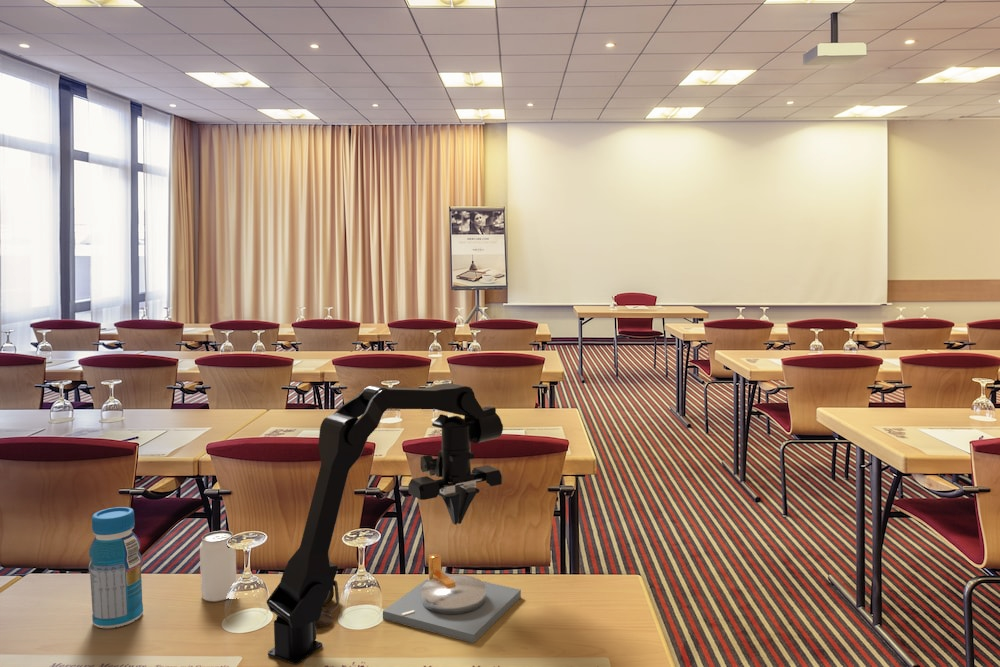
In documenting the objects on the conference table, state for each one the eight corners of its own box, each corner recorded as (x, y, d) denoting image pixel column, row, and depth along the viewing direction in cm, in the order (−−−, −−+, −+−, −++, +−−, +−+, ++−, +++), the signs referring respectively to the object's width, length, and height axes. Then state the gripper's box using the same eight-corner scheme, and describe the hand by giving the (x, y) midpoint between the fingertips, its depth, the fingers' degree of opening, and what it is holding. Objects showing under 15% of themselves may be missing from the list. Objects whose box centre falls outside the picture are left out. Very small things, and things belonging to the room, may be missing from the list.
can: (201, 591, 138) (198, 532, 137) (235, 585, 141) (233, 527, 140) (202, 605, 133) (199, 544, 132) (238, 598, 135) (236, 538, 134)
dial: (497, 602, 130) (497, 573, 129) (441, 620, 123) (440, 589, 123) (458, 574, 142) (458, 547, 141) (404, 589, 135) (404, 561, 135)
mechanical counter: (354, 569, 136) (305, 557, 137) (335, 593, 123) (281, 580, 124) (346, 605, 136) (297, 593, 137) (326, 633, 123) (273, 619, 124)
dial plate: (473, 643, 119) (473, 633, 119) (382, 618, 127) (382, 609, 127) (520, 597, 136) (520, 588, 136) (437, 578, 144) (437, 570, 144)
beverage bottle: (96, 635, 122) (90, 524, 120) (87, 617, 128) (82, 511, 126) (149, 620, 127) (144, 513, 125) (138, 603, 133) (133, 501, 132)
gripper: (475, 433, 150) (475, 504, 151) (395, 445, 140) (396, 521, 141) (503, 443, 141) (504, 519, 142) (420, 457, 130) (422, 538, 132)
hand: (456, 523), depth 139 cm, fingers closed
